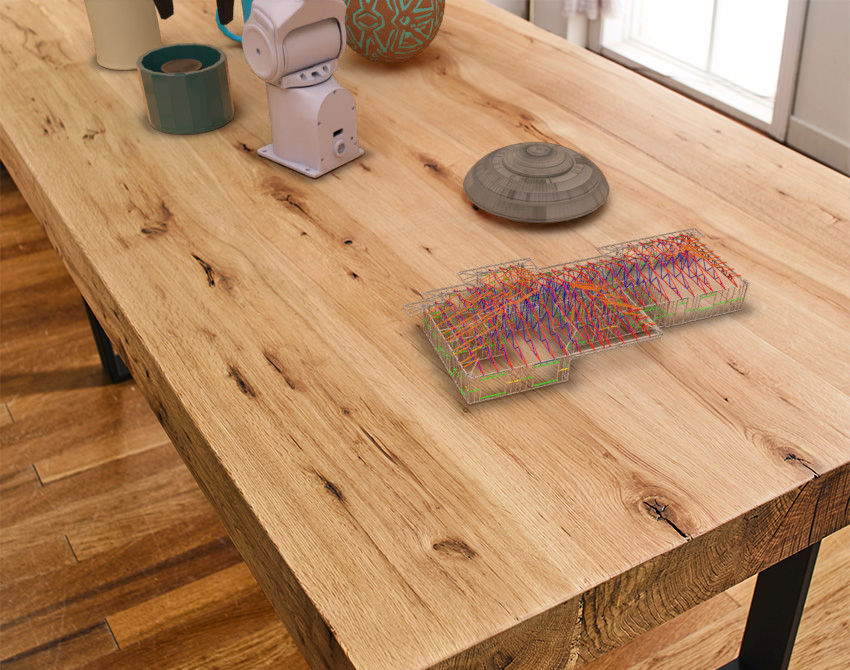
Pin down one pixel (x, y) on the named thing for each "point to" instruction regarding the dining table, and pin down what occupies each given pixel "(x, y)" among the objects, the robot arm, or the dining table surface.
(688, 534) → the dining table surface
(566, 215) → the flying saucer
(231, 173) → the dining table surface
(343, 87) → the robot arm
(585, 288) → the roof frame
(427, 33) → the decorative sphere
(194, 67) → the spool
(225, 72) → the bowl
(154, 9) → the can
